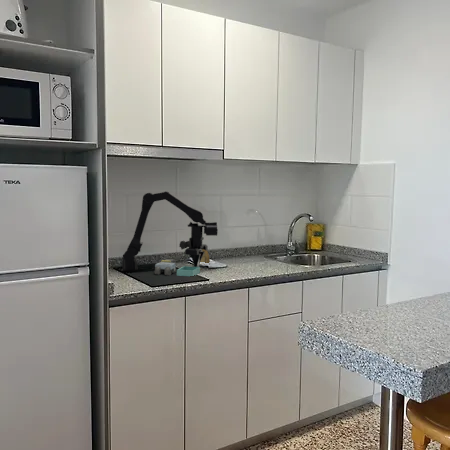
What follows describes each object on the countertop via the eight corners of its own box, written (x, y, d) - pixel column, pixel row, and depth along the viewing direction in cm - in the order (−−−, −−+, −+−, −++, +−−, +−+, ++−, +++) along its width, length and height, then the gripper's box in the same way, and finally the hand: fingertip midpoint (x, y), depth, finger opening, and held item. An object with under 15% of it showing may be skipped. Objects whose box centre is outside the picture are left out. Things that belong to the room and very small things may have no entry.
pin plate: (188, 270, 226) (188, 270, 226) (192, 268, 232) (192, 268, 232) (200, 271, 225) (200, 270, 225) (203, 269, 231) (203, 268, 231)
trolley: (153, 275, 214) (153, 264, 214) (161, 271, 224) (161, 260, 223) (169, 276, 212) (169, 265, 212) (177, 272, 222) (177, 261, 221)
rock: (215, 261, 243) (212, 255, 252) (206, 249, 240) (203, 244, 250) (198, 273, 243) (196, 267, 252) (189, 261, 240) (187, 255, 249)
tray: (176, 276, 213) (176, 269, 213) (184, 272, 223) (184, 266, 223) (193, 277, 211) (193, 270, 211) (199, 273, 221) (200, 267, 221)
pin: (192, 269, 228) (192, 254, 227) (194, 268, 230) (194, 253, 230) (198, 270, 227) (198, 254, 226) (200, 269, 230) (200, 253, 229)
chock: (161, 271, 225) (161, 260, 224) (167, 268, 233) (167, 258, 232) (169, 272, 224) (169, 261, 223) (175, 269, 232) (175, 258, 231)
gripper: (187, 232, 238) (187, 262, 239) (175, 236, 220) (174, 268, 221) (208, 233, 235) (207, 263, 237) (196, 237, 217) (196, 270, 219)
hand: (196, 266), depth 228 cm, fingers closed on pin, 3 cm apart
